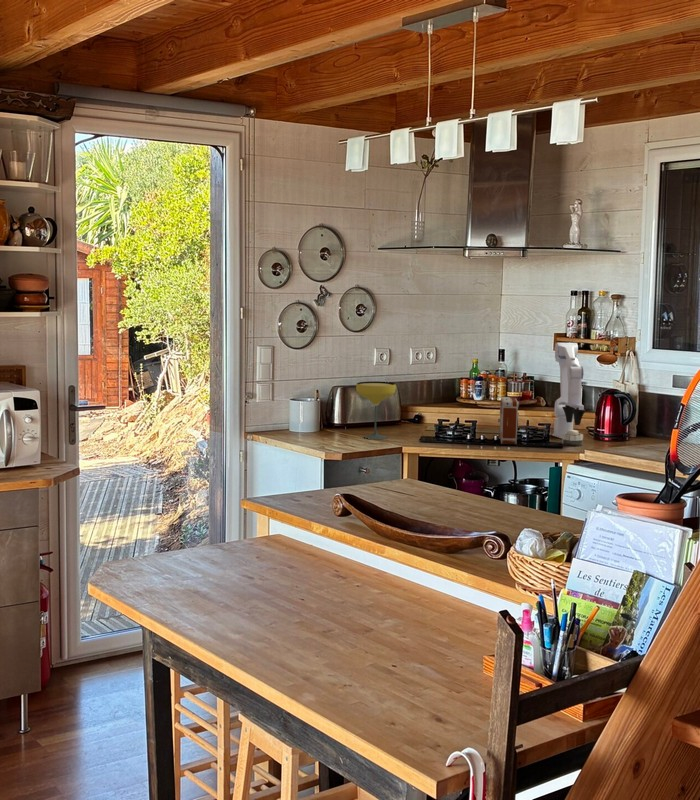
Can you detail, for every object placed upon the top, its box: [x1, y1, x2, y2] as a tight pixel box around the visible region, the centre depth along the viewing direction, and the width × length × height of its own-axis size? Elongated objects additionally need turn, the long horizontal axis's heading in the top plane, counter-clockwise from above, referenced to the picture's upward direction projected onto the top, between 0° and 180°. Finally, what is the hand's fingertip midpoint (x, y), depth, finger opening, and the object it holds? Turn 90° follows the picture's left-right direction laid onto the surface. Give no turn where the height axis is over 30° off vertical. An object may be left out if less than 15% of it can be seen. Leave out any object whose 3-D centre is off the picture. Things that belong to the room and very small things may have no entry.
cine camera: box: [497, 396, 520, 446], centre depth 454 cm, size 9×19×20 cm, turn 174°
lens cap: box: [567, 429, 579, 436], centre depth 448 cm, size 5×5×4 cm
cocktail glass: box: [355, 380, 397, 440], centre depth 460 cm, size 18×18×25 cm
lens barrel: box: [561, 432, 584, 447], centre depth 449 cm, size 9×9×4 cm
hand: (573, 423), depth 448 cm, fingers open, 7 cm apart
